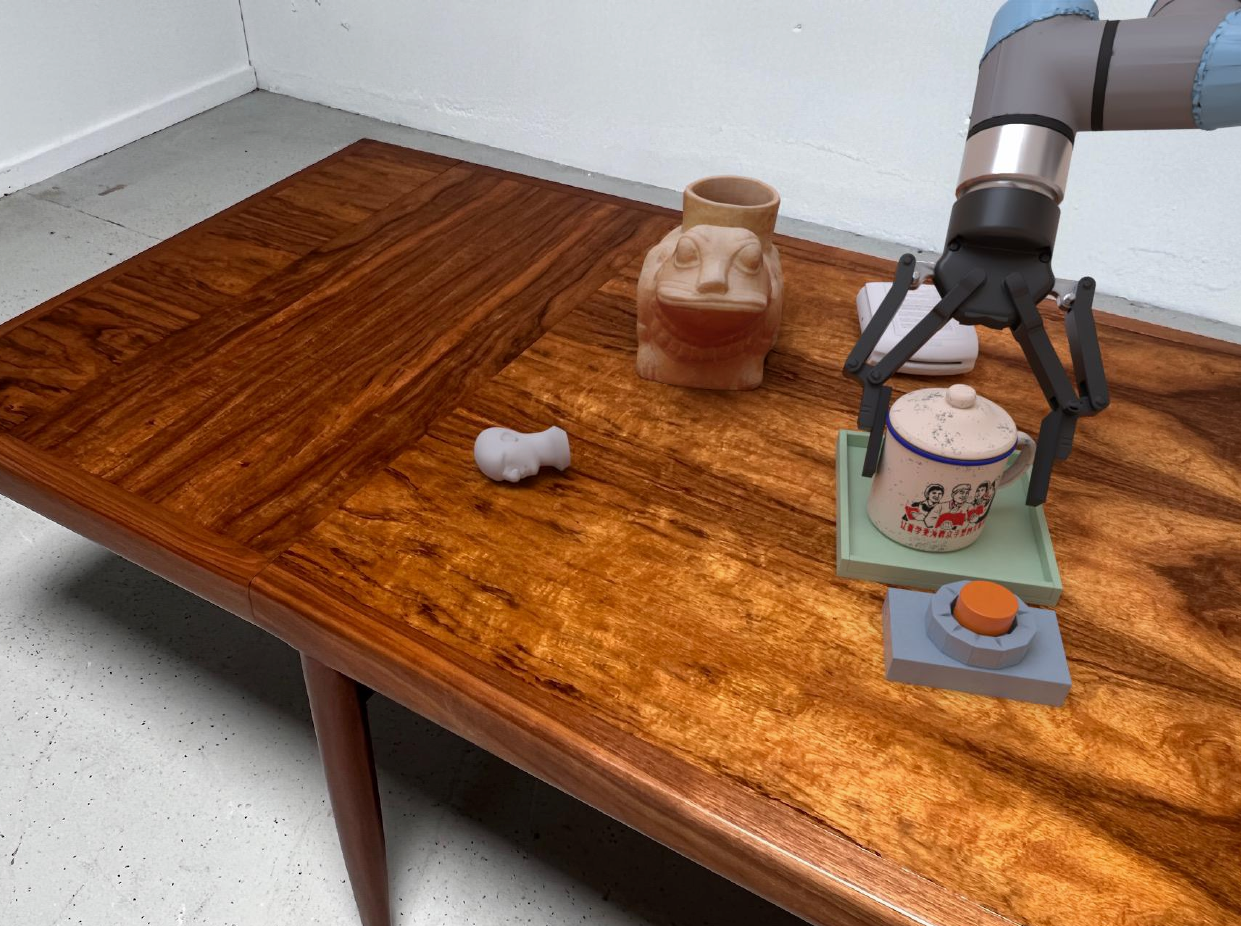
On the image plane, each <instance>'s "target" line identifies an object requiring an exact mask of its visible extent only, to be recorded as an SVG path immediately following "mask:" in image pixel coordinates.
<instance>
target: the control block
mask: <svg viewBox="0 0 1241 926" xmlns="http://www.w3.org/2000/svg"><path fill="white" fill-rule="evenodd" d="M969 582H973V581H969V580H963V581H958V582H954V583H950V584H946V585H943V586H942V587H941V588H940V589H939V590H936V592H935V593H934V592H933V593H931V592H926V591H925V592H924V591H919V590H918V591H917V590H910V589H903V588H897V587H891V586H890V587H888V588H887V591H886V594H885V597H884V600H883V605H882V607H881V619H882V639H883V640H882V641H883V656H884V658H883V659H884V675H885V676H884V677H885V680H886V681H890V682H897V683H903V684H910V685H915V686H921V687H929V688H935V689H942V690H948V691H955V692H961V693H968V694H974V695H979V696H988V697H993V698H1001V699H1004V700H1005V699H1006V700H1012V701H1019V702H1026V703H1031V704H1037V705H1044V706H1045V705H1046V706H1050V707H1051V706H1052V707H1058V708H1062V707H1063V704H1064V702H1065V700H1066V698H1067V696H1068V694H1069V693H1070V691H1071V689H1072V686H1073V682H1072V678H1071V672H1070V670H1069V665H1068V660H1067V656H1066V652H1065V647H1064V643H1063V639H1062V634H1061V629H1060V626H1059V622H1058V618H1057V614H1056V611H1055V610H1053V609H1045V608H1038V607H1032V606H1028V605H1027V603H1024V602H1023V601H1022V600H1021V599H1020V598H1019V597H1018V596H1017V595H1015V594H1014V595H1015V597H1016V598H1017V600H1018V604H1019V608H1018V611H1017V613H1016V616H1015V618H1014V621H1013V623H1012V625H1011V628H1010V630H1009V631H1008V632H1007V633H1005V634H1003V635H1001V636H997V637H990V636H983V635H978V634H976V633H974V632H972V631H970V630H968V629H966V628H964V627H962V626H961V625H960V624H959V623H958V622H957V620H956V619H955V616H954V607H955V604H956V602H957V599H958V596H959V593H960V591H961V589H962V587H963V586H964V585H966V584H967V583H969Z"/></svg>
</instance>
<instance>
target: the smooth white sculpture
mask: <svg viewBox="0 0 1241 926" xmlns="http://www.w3.org/2000/svg"><path fill="white" fill-rule="evenodd" d="M473 456H474V461H475V463H476V465H477V467H478V468H479V470H480V471H481V472H482V473H483V474H484V475H485V476H486V477H488V478H490V479H491V480H494V481H496V482H502V481H503V480H505V481H509V482H511V483H518V482H519V481H520V479H526V477H531V476H536V475H537V474H538V472H539V470H540V467H542V466H543V467H544V466H547V467H549V466H550V467H554V468H555V469H557V470H559V471H560V472H563V471H564V470H565V469H566V468H568V467H569V466H571V462H572V461H571V460H572V459H571V449H570V443H569V438H568V434H567V431H566V430H564V429H562V428H560V427H557V426H556V425H552V426H551V427H549V428H548V429H546V430H543V431H540V432H534V433H521V432H518V431H516V430H513V429H511V428H506V427H499V426H494V427H489V428H486V429H484V430H483V431H481V432H480V433H479V435H478V436H477V437H476V439H475V442H474V446H473Z"/></svg>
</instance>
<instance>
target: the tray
mask: <svg viewBox="0 0 1241 926" xmlns="http://www.w3.org/2000/svg"><path fill="white" fill-rule="evenodd" d="M869 436H870V432H869V431H861V430H851V429H850V430H849V429H844V428H843V429H842V428H839V430H838V434H837V438H836V441H835V446H834V447H835V520H836V521H835V529H836V530H835V535H836V536H835V542H836V546H835V547H836V548H835V549H836V554H835V555H836V577H838V578H844V579H845V578H846V579H853V580H858V581H859V580H860V581H868V582H873V583H874V582H875V583H882V584H889V585H895V586H903V587H910V588H917V589H925V590H931V591H938V590H939V589H940V588H941V587H942V586H943V585H946V584H950V583H954V582H958V581H963V580H969V581H989V582H993V583H996V584H999V585H1001V586H1003V587H1005V588H1007V589H1008V590H1009V591H1011V592H1012V593H1013V594H1015V595H1017V596H1018V597H1019V598H1020V599H1021V600H1022V601H1023V602H1024V603H1025V604H1032V605H1038V606H1045V607H1053V608H1055V607H1056V606H1057V604H1058V602H1059V599H1060V597H1061V595H1062V593H1063V590H1064V587H1063V584H1062V583H1063V582H1062V579H1061V575H1060V574H1061V573H1060V571H1059V566H1058V562H1057V558H1056V554H1055V550H1054V546H1053V543H1052V538H1051V534H1050V529H1049V526H1048V522H1047V518H1046V515H1045V510H1044V506H1043V503H1042V504H1041V505H1039V506H1037V507H1033V506H1027V505H1025V503H1026V498H1027V493H1028V488H1029V482H1030V477H1031V472H1032V467H1033V463H1032V464H1031V466H1030V467H1029V469H1028V470H1027V471H1026V472H1025V473H1024V474H1023V475H1022V476H1021V477H1020V478H1019V479H1018V480H1017V481H1015V482H1014V483H1012V484H1011V485H1009V486H1007V487H1005V488H1002V489H998V490H997V491H996V493H995V496H994V499H993V502H992V505H991V507H990V510H989V513H988V516H987V518H986V521H985V524H984V527H983V529H982V532H981V534H980V536H979V537H978V538H977V539H976V540H975V541H974V542H973V543H971V544H970V545H968V546H966V547H964V548H961V549H958V550H953V551H945V552H933V551H924V550H919V549H915V548H911V547H908V546H905V545H903V544H900V543H898V542H896V541H894V540H892V539H890V538H889V537H887V536H886V535H884V534H883V533H882V532H881V531H880V530H878V529H877V527H876V526H875V525H874V524H873V522H872V521H871V519H870V517H869V515H868V511H867V501H868V497H869V493H870V490H871V486H872V482H873V478H874V475H875V473H874V475H873V477H872V478H868V477H863V476H862V471H863V466H864V461H865V456H866V451H867V446H868V441H869ZM884 437H885V434H884V433H883V437H882V442H881V447H880V452H881V448H882V445H883V441H884ZM880 452H879V456H880ZM1020 452H1021V449H1015V450H1014V451H1013V453H1012V454H1011V455H1009V458H1008V460H1007V463H1006V466H1005V469H1004V471H1005V470H1006V469H1007V468H1009V467H1010V466H1011V465H1012V464H1013V463H1014V461H1015V460H1016V459H1017V457H1018V456H1019V454H1020ZM878 460H879V457H878ZM877 463H878V462H877Z"/></svg>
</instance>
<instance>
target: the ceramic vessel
mask: <svg viewBox="0 0 1241 926" xmlns="http://www.w3.org/2000/svg"><path fill="white" fill-rule="evenodd" d="M780 205H781V196H780V194H779V191H778V190H777V189H776V188H775V187H774V186H772V185H769V184H767V183H766V182H764V181H763V180H760V179H757V178H755V177H749V176H744V175H734V174H733V175H732V174H722V175H710V176H705V177H701V178H700V179H697V180H695V181H693V182H690V183H689V184H688V185H686V187H685V189H684V190H683V195H682V221H681V222H682V223H681V225H679V226H677V227H676V228H674V229H672V230H671V231H670V232H668V234H667V235H665V236H664V237H663V238H662V239H661V240H660V242H659V243H658V244H657V245H655V246H653V247H652V248H651V249H650V250H649V251H648V252H647V254H646V256H645V258H644V260H643V264H642V267H641V271H640V275H639V277H638V281H637V287H636V288H637V289H636V309H637V310H636V311H637V313H636V314H637V319H636V336H637V342H638V346H637V351H636V352H637V353H636V360H635V372H636V374H637V375H638V376H639V377H640V378H643V379H645V380H649V381H654V382H659V383H662V384H667V385H672V386H678V387H685V388H693V389H703V390H704V389H705V390H720V391H721V390H723V391H751V390H756V389H758V388H759V387H760V386H762V383H763V381H764V363H765V358H766V357H767V355H768V353H769V352H770V351H772V350H773V349H774V347H775V345H776V344H777V340H778V335H779V331H780V327H781V323H782V311H783V302H784V299H785V284H784V283H785V282H784V276H783V275H784V274H783V269H782V264H781V257H780V253H779V251H778V249H777V247H776V246H775V245H774V243H773V239H774V233H775V228H776V223H777V220H778V219H777V218H778V215H779V214H778V213H779V211H780V210H779V209H780Z"/></svg>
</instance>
